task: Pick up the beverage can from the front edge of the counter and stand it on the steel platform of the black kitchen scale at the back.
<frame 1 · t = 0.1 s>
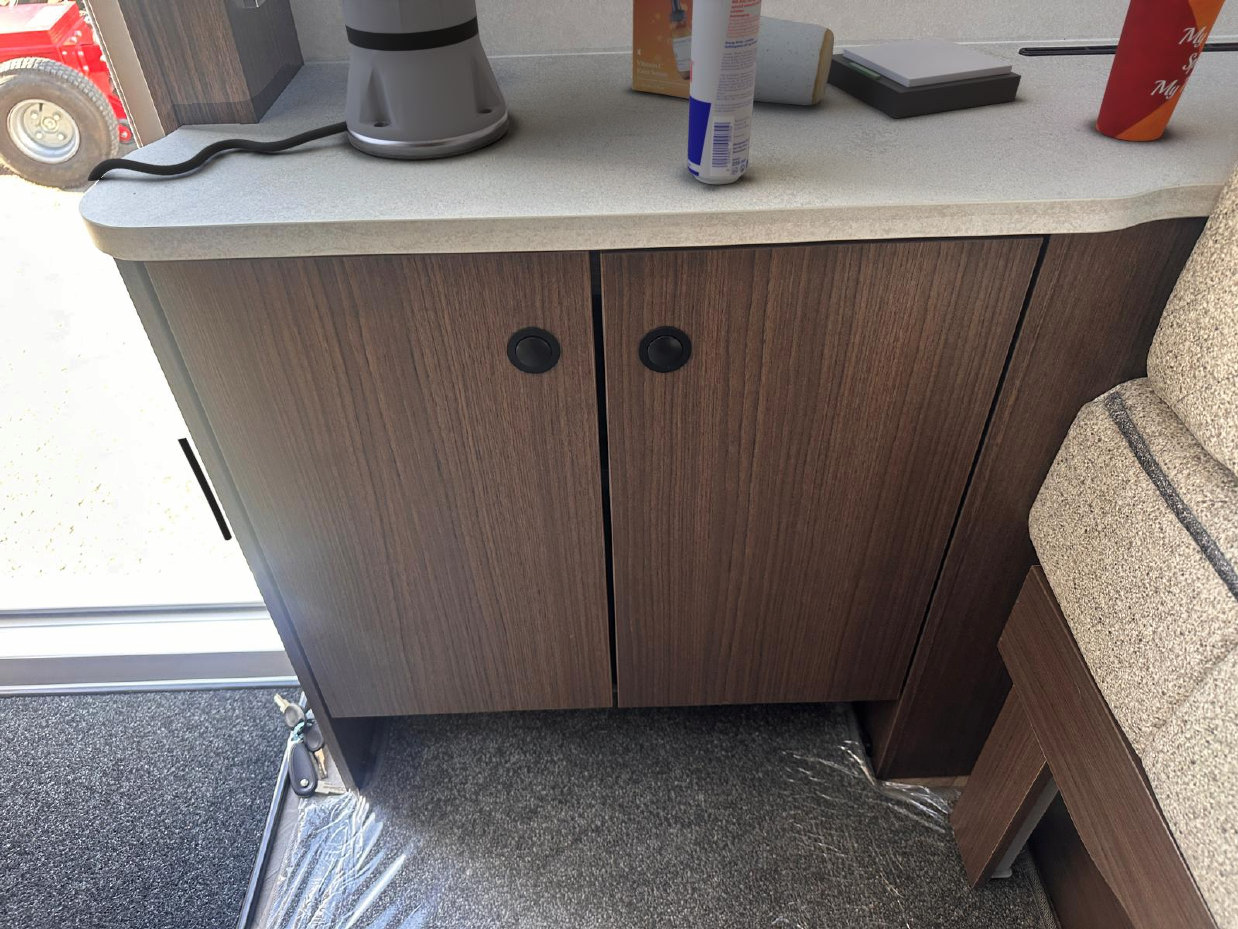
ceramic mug: (782, 99, 87), on the worktop
beverage can: (716, 177, 71), on the worktop
small box: (676, 90, 90), on the worktop
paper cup: (1127, 132, 78), on the worktop
scale: (914, 89, 88), on the worktop
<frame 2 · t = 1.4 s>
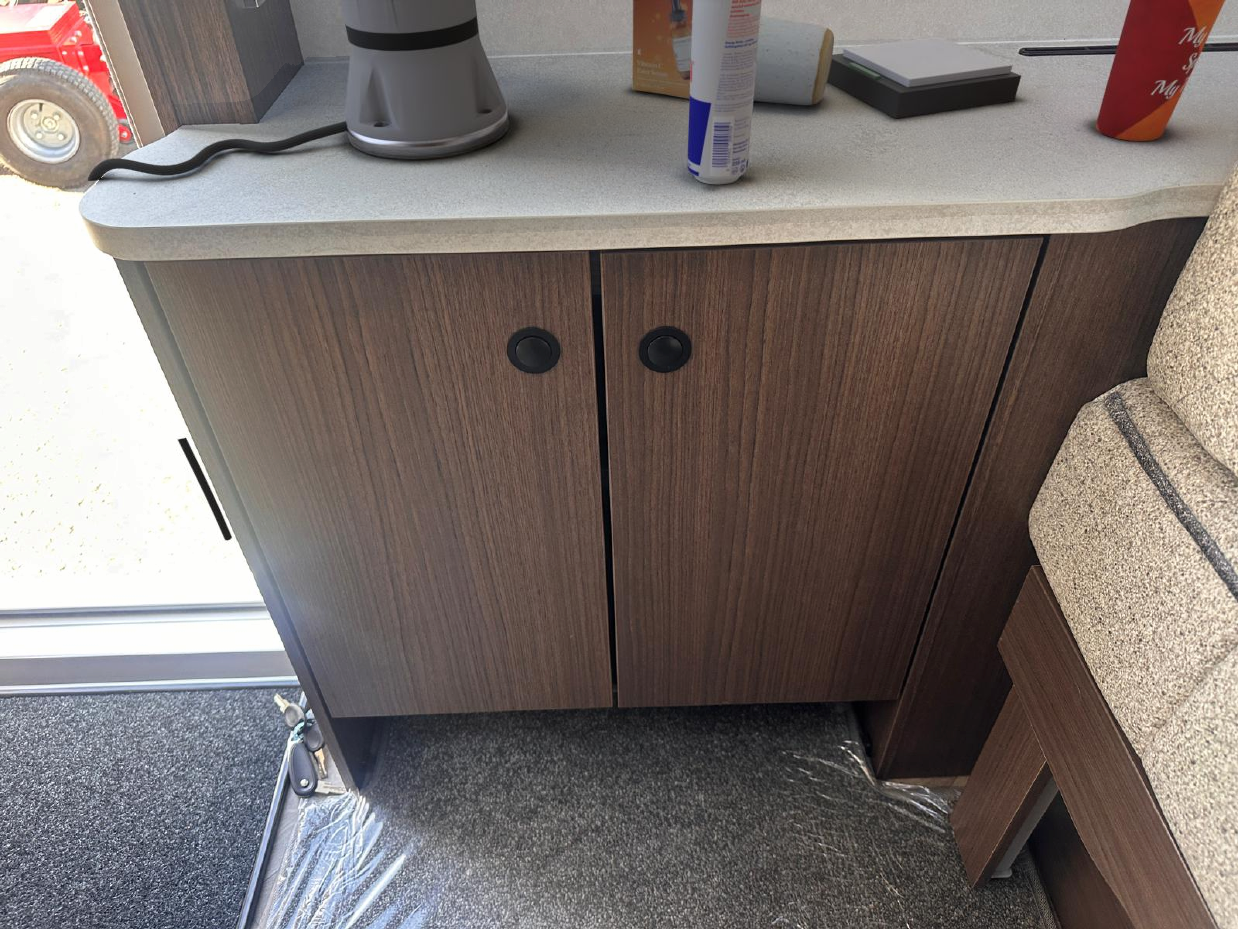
nothing on the worktop moved.
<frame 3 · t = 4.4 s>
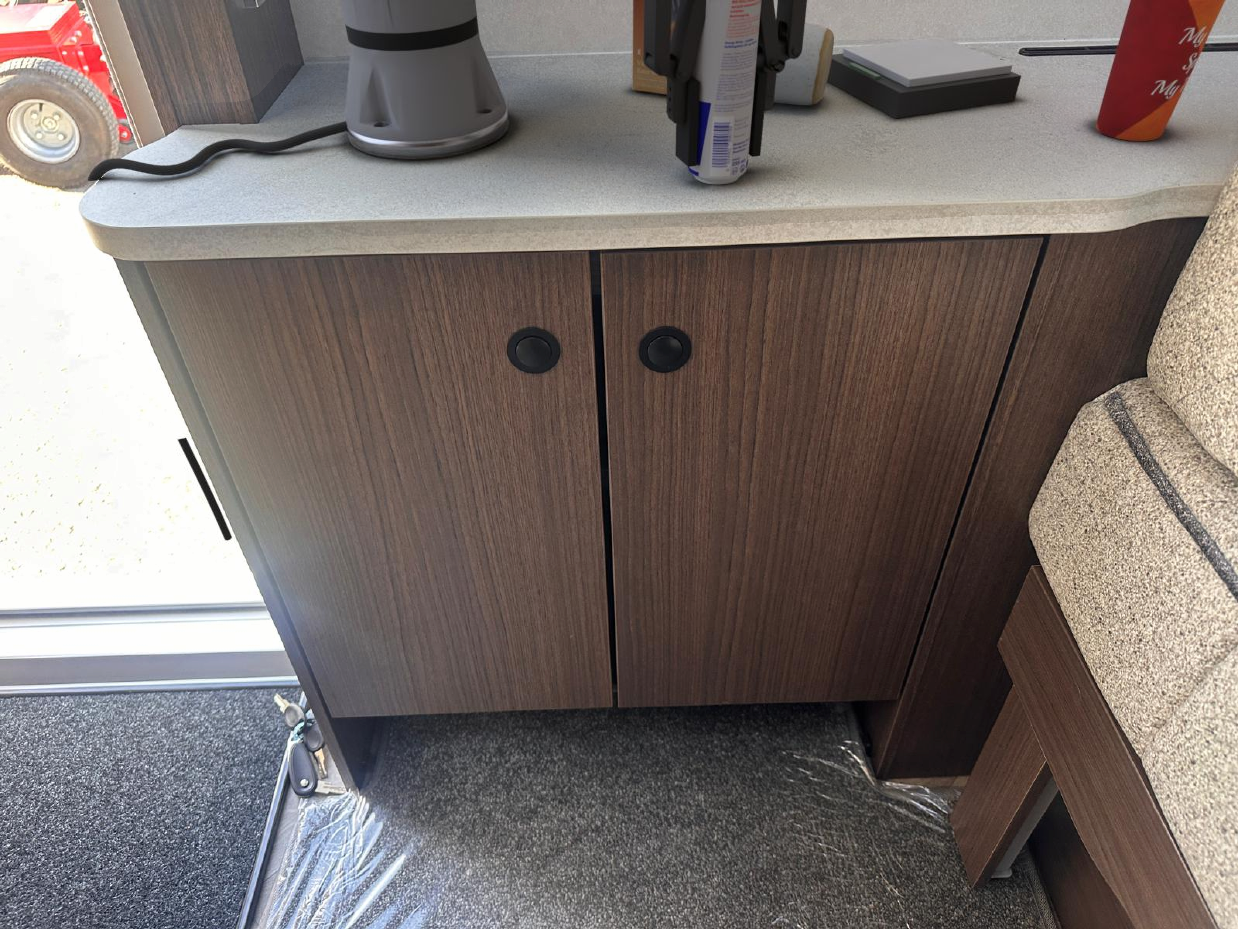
hand: (717, 155, 70), 2 cm above the worktop, tool pointing down, fingers closed on beverage can, 5 cm apart
beverage can: (716, 177, 71), on the worktop, touching gripper
everything else where it was.
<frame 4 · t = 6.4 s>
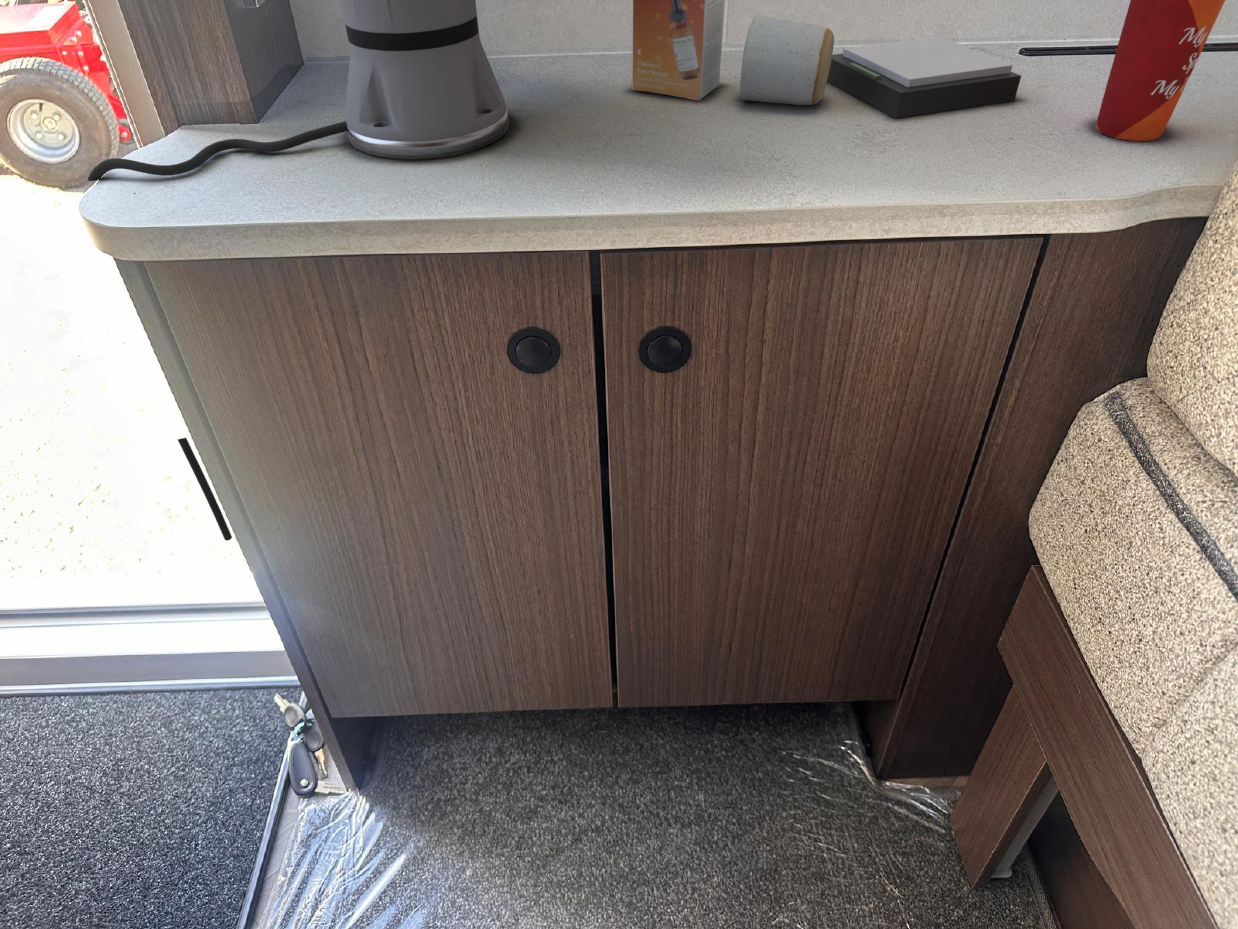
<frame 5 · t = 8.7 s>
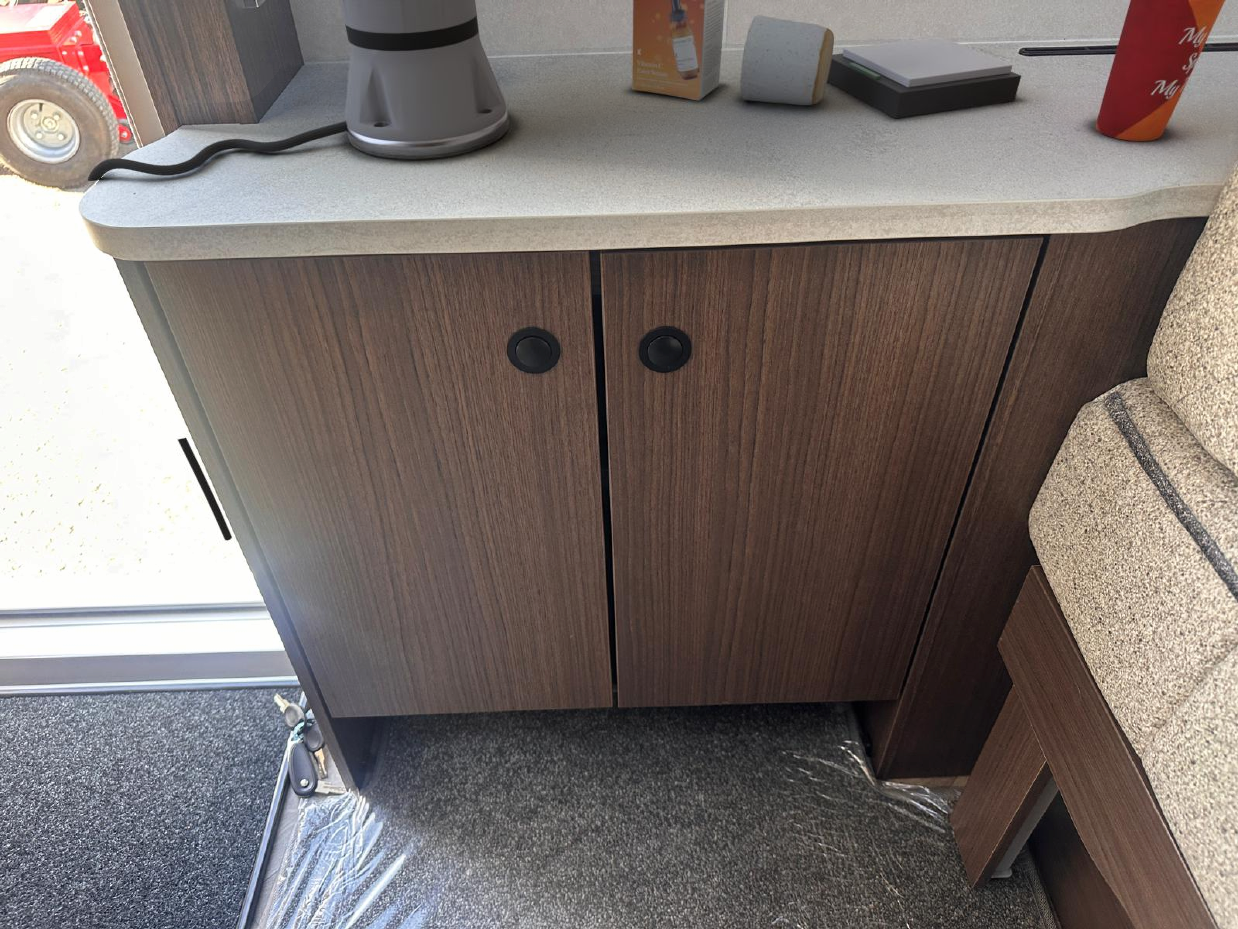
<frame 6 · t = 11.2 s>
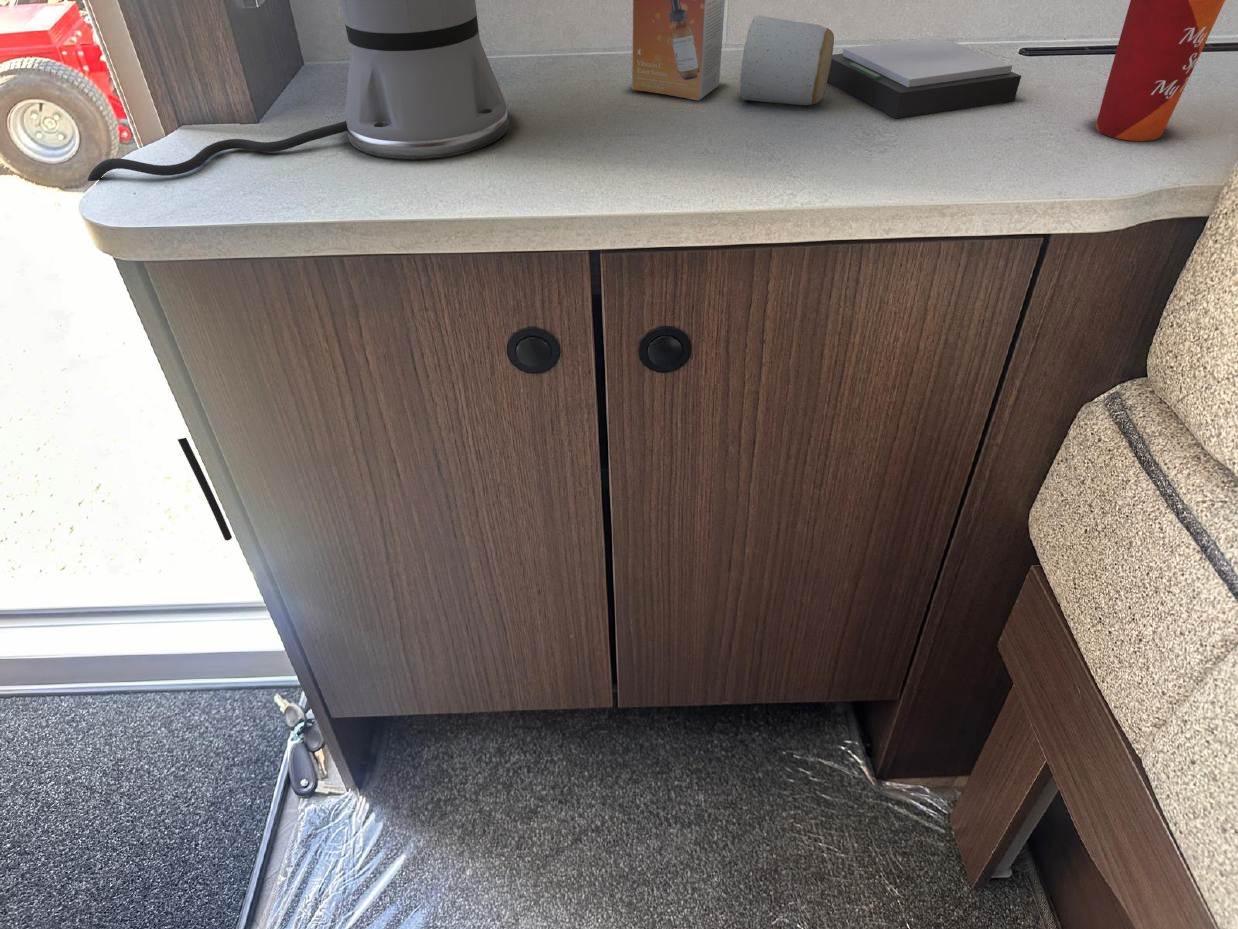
when the fingers open (5 cm above the worktop, at t = 12.9 s): beverage can stays where it is, resting on scale.
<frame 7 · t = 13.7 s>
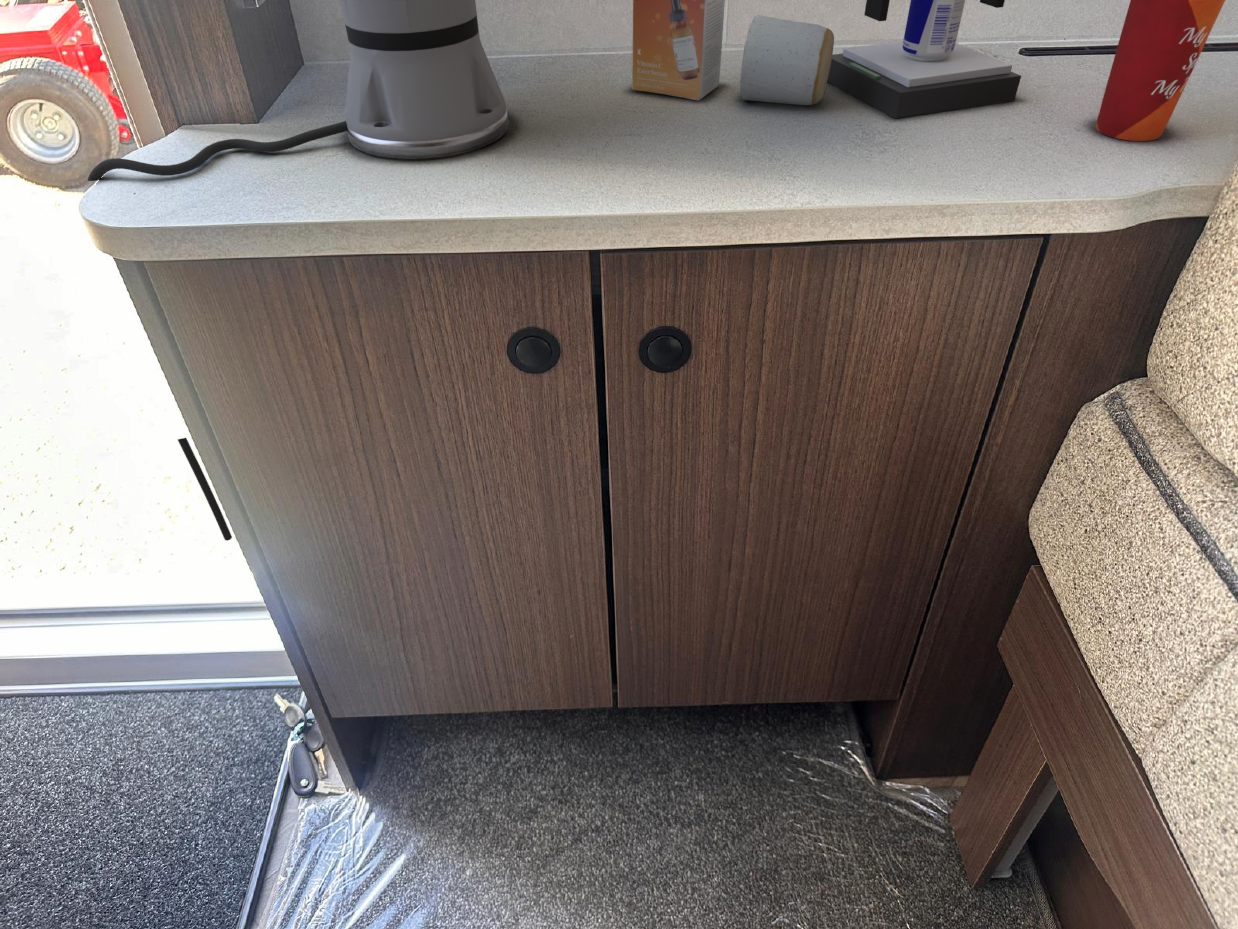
hand: (934, 11, 83), 7 cm above the worktop, tool pointing down, fingers open, 13 cm apart
beverage can: (925, 58, 86), point 3 cm above the worktop, touching scale
everything else where it was.
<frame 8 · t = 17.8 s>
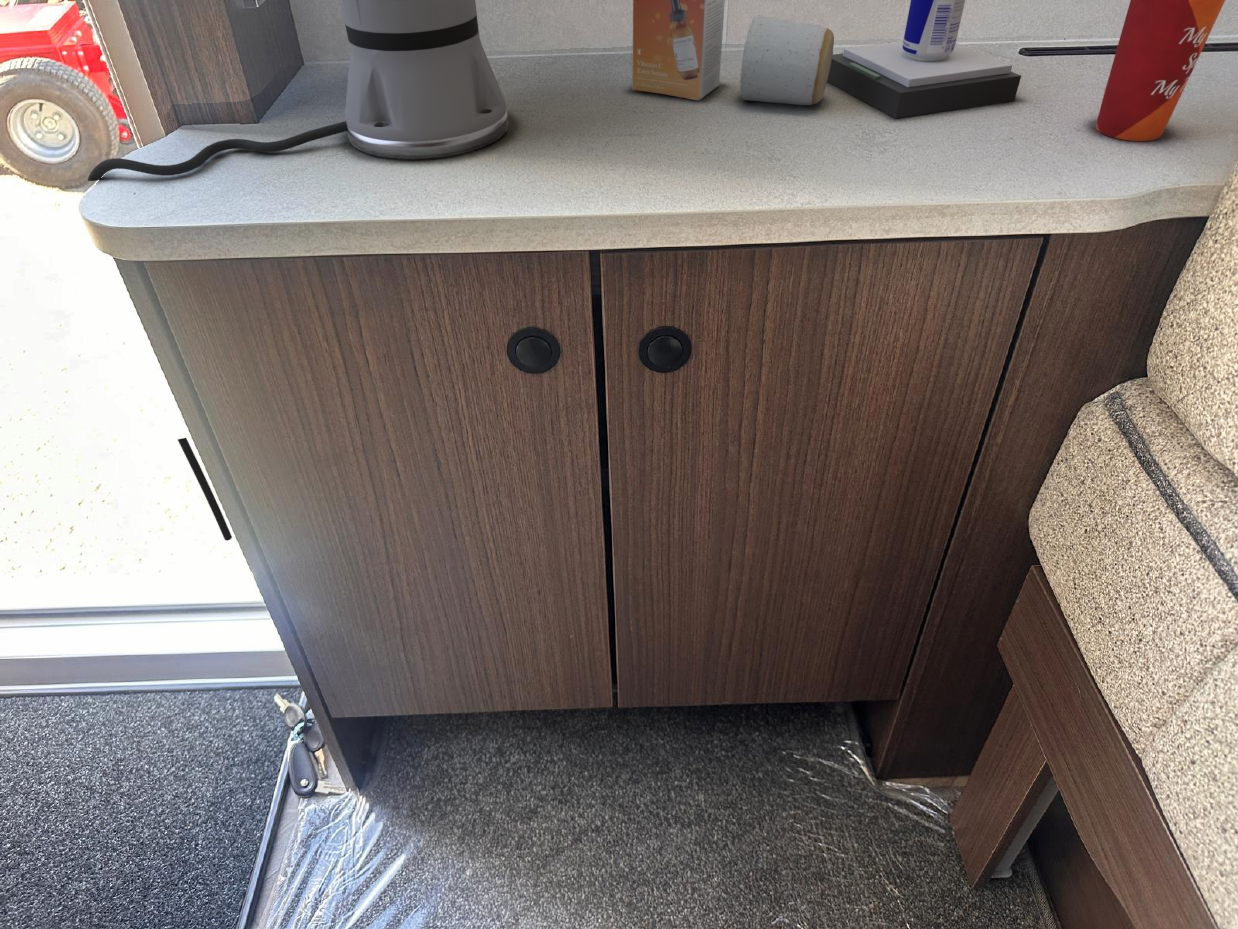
nothing on the worktop moved.
at the end: beverage can inside the target area on the scale (0.3 cm from its centre), point 3.0 cm above the scale's base; beverage can tilted 0°; the gripper is holding nothing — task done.
